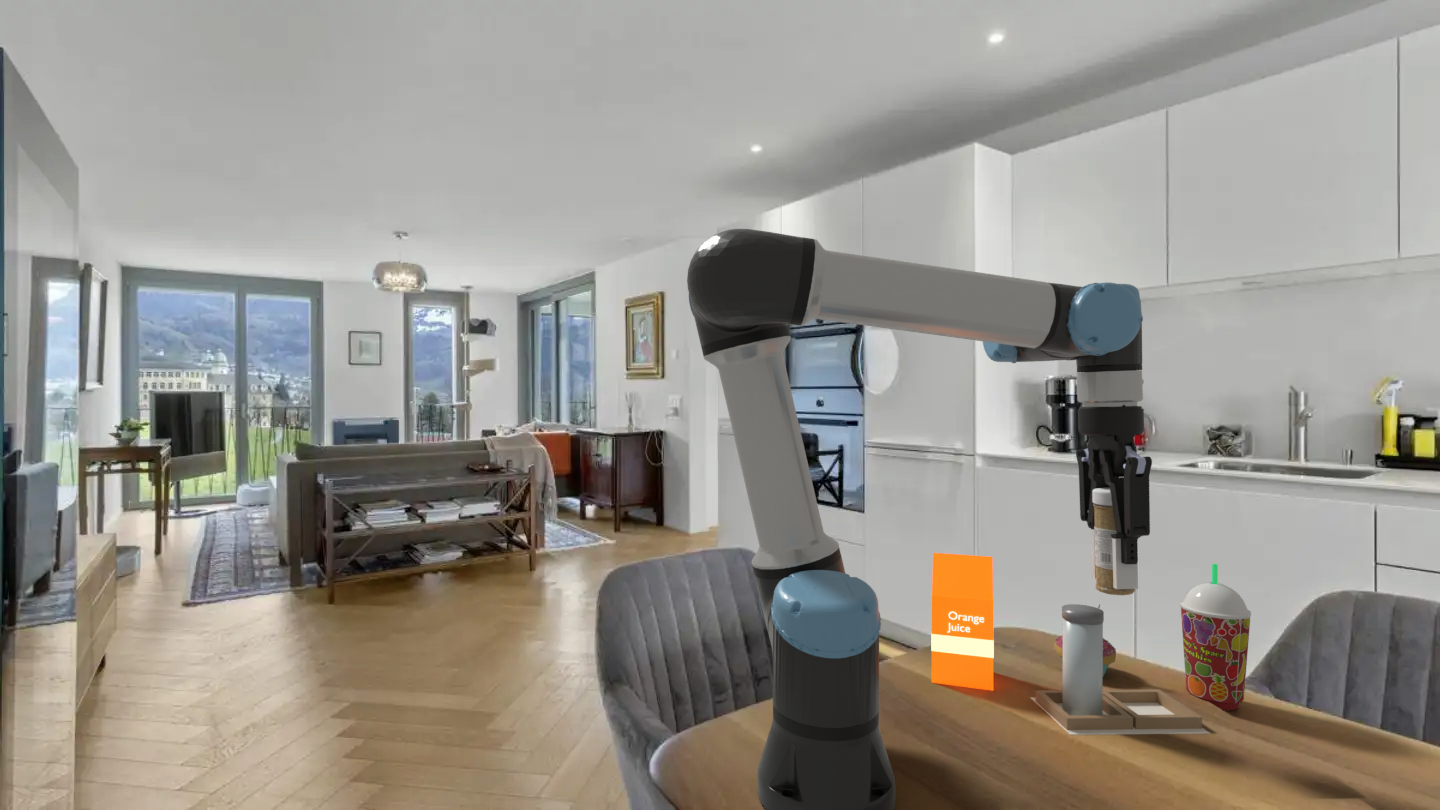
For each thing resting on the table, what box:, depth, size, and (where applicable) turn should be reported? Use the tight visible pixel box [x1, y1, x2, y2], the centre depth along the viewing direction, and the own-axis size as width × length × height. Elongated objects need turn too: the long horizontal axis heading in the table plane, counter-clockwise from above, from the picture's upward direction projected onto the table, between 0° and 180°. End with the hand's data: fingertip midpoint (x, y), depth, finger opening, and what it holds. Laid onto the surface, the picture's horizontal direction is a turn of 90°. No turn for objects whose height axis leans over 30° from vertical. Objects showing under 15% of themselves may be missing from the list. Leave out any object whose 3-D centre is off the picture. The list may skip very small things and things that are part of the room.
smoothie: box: [1179, 563, 1252, 712], centre depth 101 cm, size 8×8×20 cm
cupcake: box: [1053, 604, 1117, 677], centre depth 109 cm, size 9×8×12 cm
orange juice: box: [930, 552, 995, 692], centre depth 107 cm, size 8×9×20 cm
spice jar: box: [1092, 488, 1136, 596], centre depth 91 cm, size 5×5×14 cm
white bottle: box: [1061, 603, 1105, 716], centre depth 94 cm, size 5×5×14 cm
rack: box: [1030, 688, 1211, 736], centre depth 94 cm, size 18×11×3 cm, turn 91°
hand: (1114, 582), depth 91 cm, fingers closed on spice jar, 4 cm apart
